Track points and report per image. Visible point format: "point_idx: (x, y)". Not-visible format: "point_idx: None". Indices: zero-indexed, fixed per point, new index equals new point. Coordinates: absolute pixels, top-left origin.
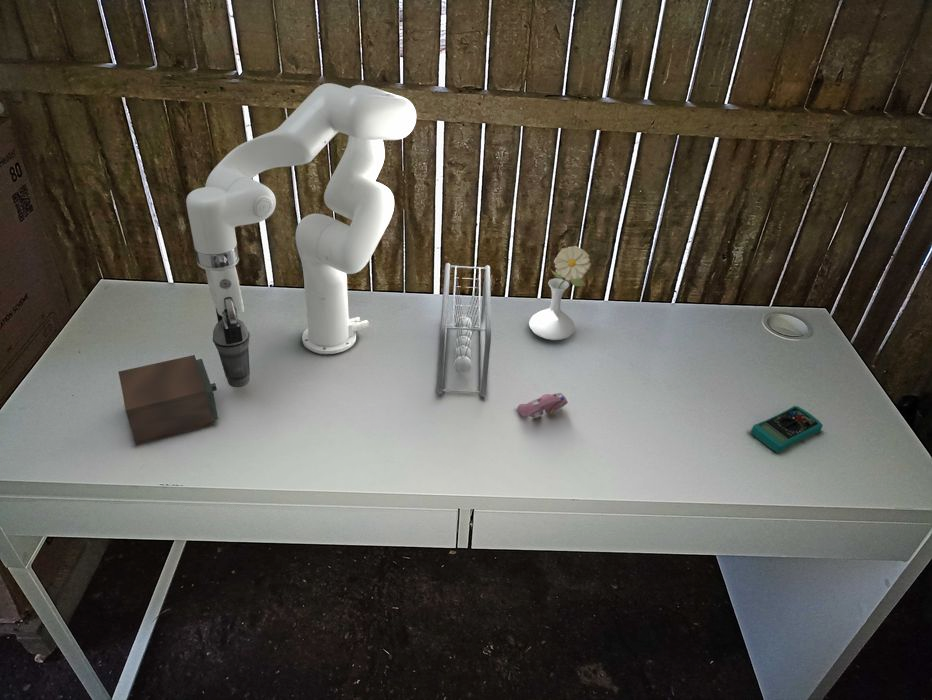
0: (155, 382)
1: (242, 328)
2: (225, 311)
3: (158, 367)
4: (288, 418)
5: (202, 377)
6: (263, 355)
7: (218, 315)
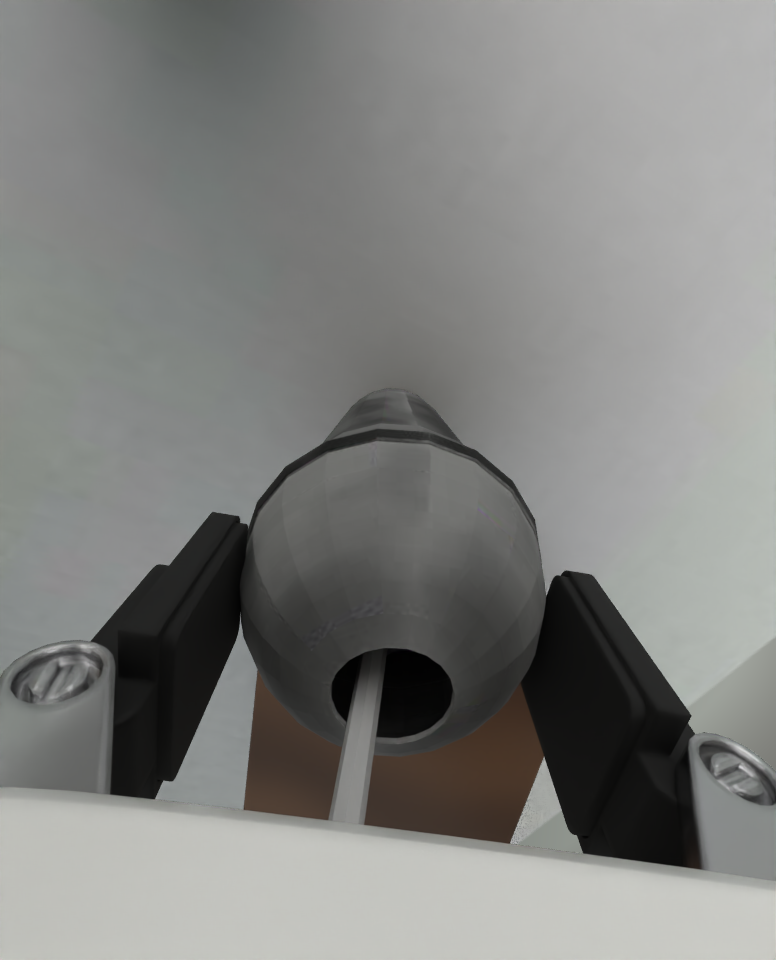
0: (384, 813)
1: (505, 560)
2: (195, 671)
3: (284, 781)
4: (672, 327)
5: None
6: (185, 220)
7: (204, 708)
